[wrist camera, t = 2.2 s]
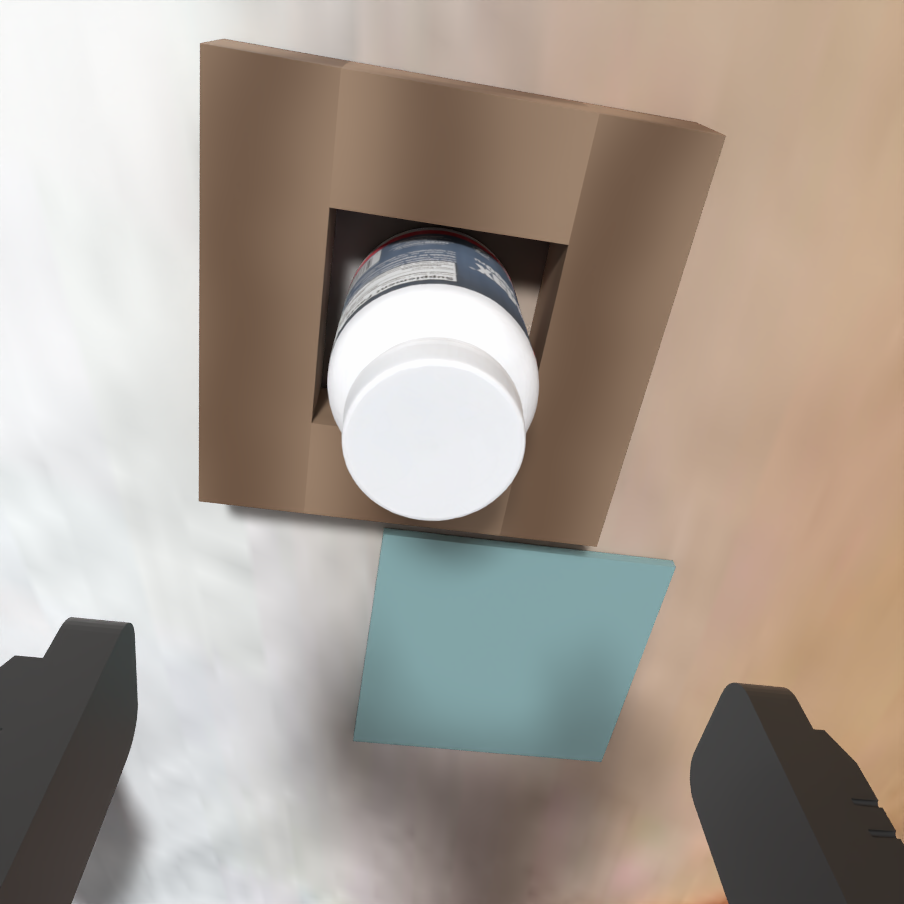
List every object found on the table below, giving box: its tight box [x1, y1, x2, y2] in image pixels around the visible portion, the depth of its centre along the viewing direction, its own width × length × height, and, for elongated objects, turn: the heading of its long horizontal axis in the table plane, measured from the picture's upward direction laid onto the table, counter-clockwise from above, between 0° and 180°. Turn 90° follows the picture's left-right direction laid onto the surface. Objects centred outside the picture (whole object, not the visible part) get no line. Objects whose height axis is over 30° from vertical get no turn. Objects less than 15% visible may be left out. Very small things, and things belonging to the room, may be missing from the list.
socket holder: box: [199, 39, 726, 547], centre depth 23 cm, size 13×13×2 cm
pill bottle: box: [327, 228, 539, 521], centre depth 21 cm, size 5×5×9 cm
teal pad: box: [353, 528, 676, 762], centre depth 32 cm, size 11×11×1 cm
